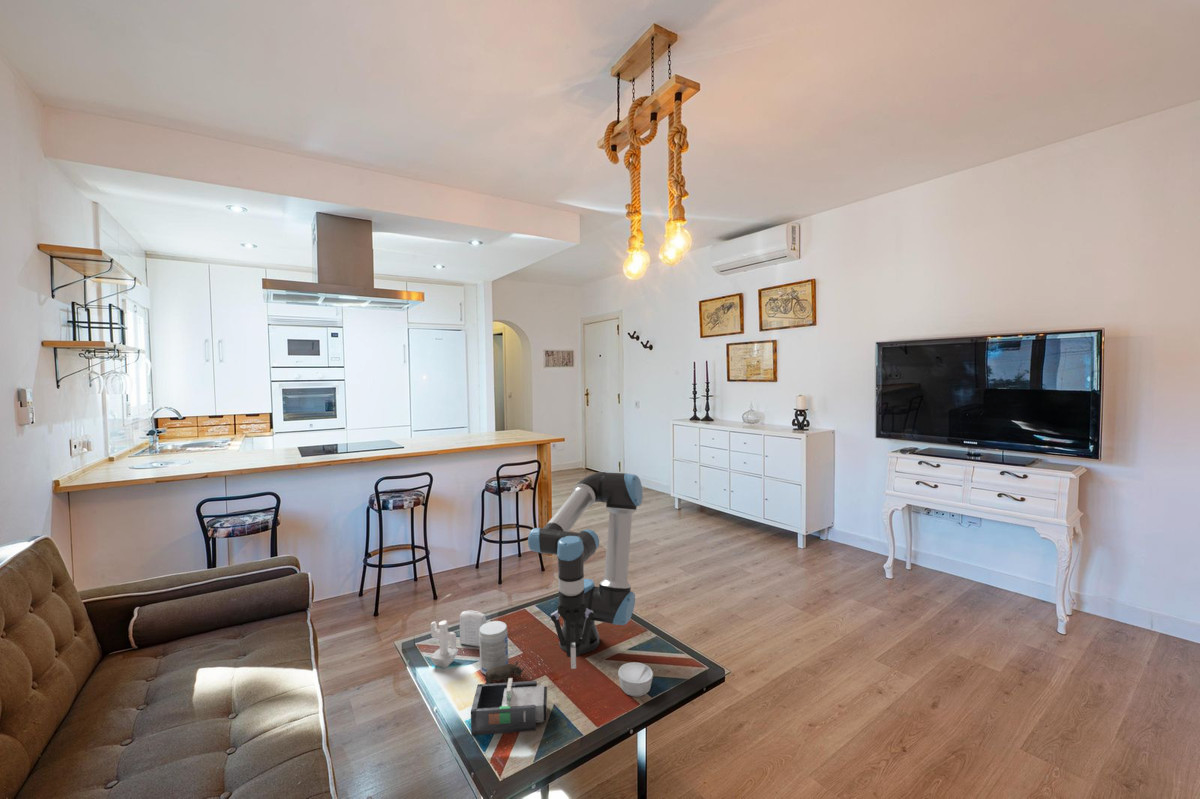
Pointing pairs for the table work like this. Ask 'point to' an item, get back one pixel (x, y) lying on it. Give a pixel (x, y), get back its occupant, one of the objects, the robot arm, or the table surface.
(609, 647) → the table surface
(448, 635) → the figurine
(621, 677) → the ramekin
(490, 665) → the supplement tub
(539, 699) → the plunger
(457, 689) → the table surface
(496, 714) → the gauge housing
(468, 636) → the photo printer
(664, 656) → the table surface
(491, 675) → the rhino figurine
